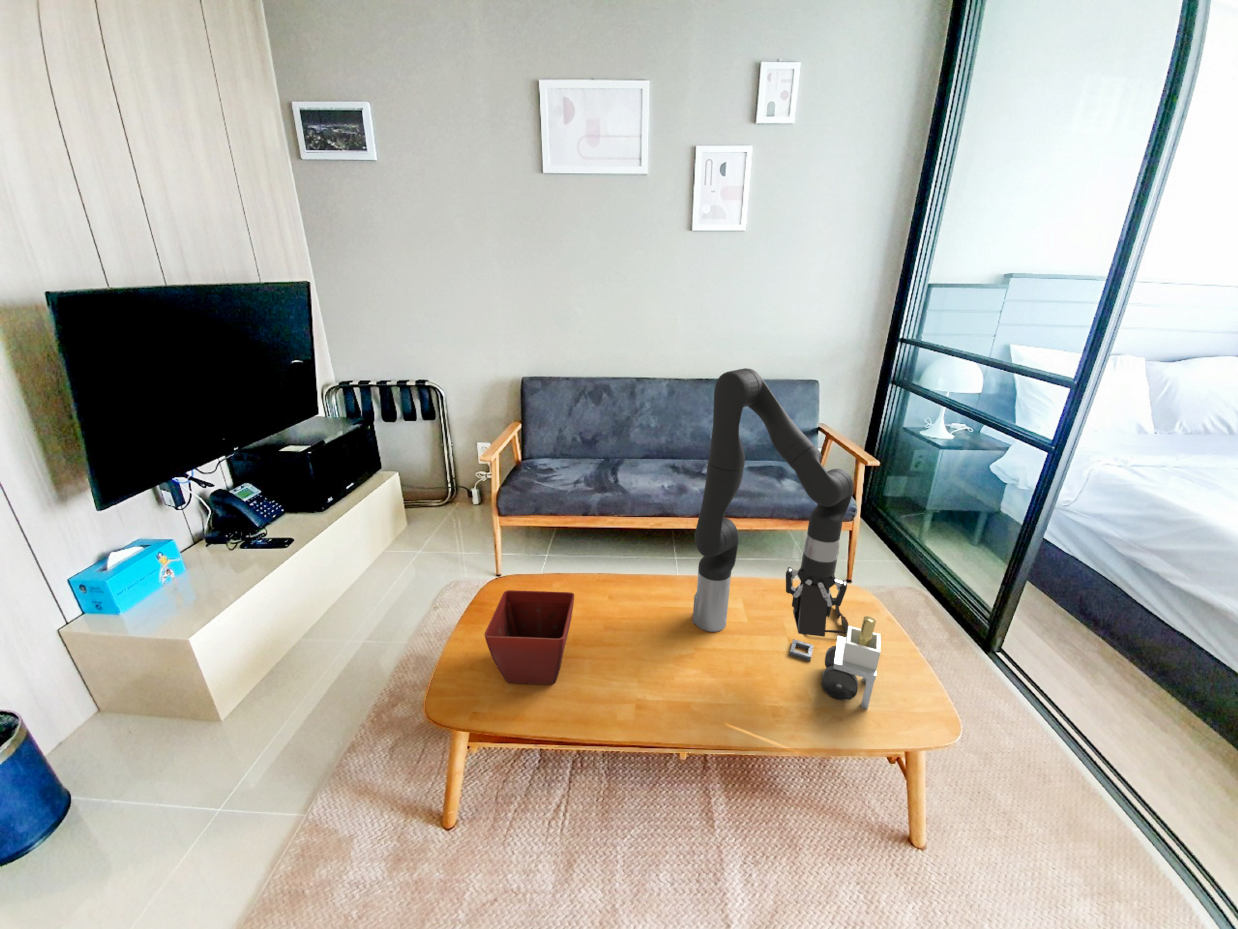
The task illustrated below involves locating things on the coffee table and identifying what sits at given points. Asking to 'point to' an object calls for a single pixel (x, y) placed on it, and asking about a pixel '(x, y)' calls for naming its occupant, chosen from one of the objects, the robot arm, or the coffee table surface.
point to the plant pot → (530, 635)
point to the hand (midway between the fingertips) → (810, 612)
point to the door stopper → (811, 611)
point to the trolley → (845, 675)
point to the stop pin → (866, 631)
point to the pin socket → (801, 654)
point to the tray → (861, 649)
